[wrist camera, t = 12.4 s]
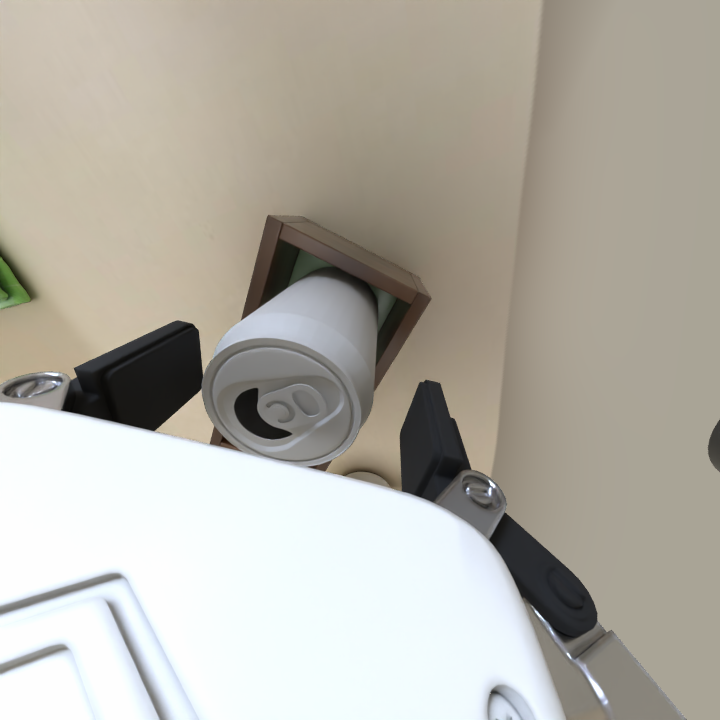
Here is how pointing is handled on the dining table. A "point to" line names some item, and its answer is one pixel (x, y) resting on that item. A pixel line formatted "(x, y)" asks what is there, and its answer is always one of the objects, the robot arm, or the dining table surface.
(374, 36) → the dining table surface
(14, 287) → the dish towel
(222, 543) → the robot arm
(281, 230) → the wooden compartment box
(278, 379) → the beverage can
